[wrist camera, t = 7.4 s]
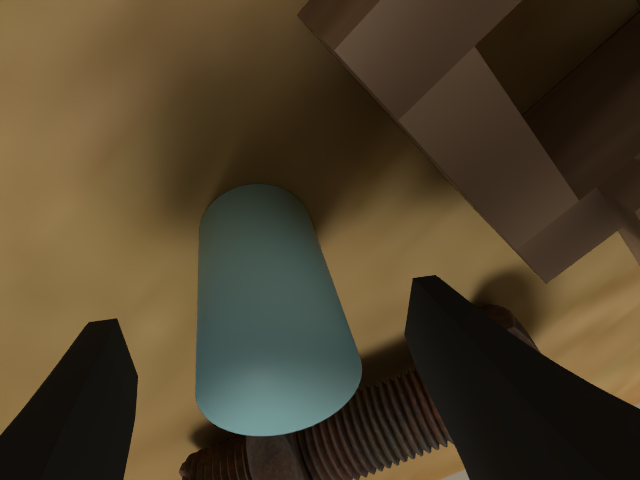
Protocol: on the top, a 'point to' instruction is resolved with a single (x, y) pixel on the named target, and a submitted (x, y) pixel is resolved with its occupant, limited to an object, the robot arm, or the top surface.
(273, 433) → the dowel
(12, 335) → the top surface
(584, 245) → the mount
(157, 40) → the top surface
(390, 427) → the bolt
